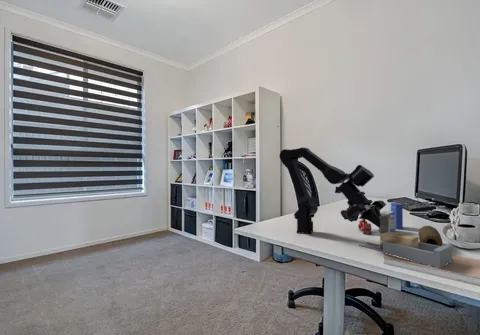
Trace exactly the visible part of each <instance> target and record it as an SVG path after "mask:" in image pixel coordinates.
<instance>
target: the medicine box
mask: <svg viewBox="0 0 480 335" xmlns="http://www.w3.org/2000/svg"><path fill="white" fill-rule="evenodd" d="M380 214H381V216H384V215H390V217H389V218H388V220H389V232H395V231H396V229H395V212H391V211H389V210H385V211H382V212H381V211H380ZM378 232H379V233H380V228H379V227H378Z"/></svg>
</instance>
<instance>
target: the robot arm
mask: <svg viewBox="0 0 480 335" xmlns="http://www.w3.org/2000/svg"><path fill="white" fill-rule="evenodd" d="M278 154H279V159H280V161H281V163H282V164H283V165H284V167H285V168H286V169H287V170H288V174H289V176H290V179H291V182H292V183H293V186H294V190H295V192H296V196H297V198H298V199H297V207H298V210H297V211H295V213H293V216H294V217H293V218H294V219H295V220H296V224H297V225H296V233H297V234H313V232H314V221H312V218H314V217H315V214H317V212H318V210H319V209H318V208H319V207H318V206H319V204H318V203H317V200H316V197H315V196H311V195H310V194H309V192H308V190H307V187H306V184H305V181H304V179H303V177H302V176H303V175H302V173H301V172H300V168H299V165H298V164H299V159H301V158H303V159H304V160H306V161H307V162H308V163H310V165H312V166H314V168H316V169H317V170H318V171H320V173H322V175H323V177H324V178H325V179H326V181H327V182H328V183H330V184H331V185H338V184H340V185H339V186H335V188H334V193H335V194H342V195H343V196H344V197H345V198H346V199H347V202H346V203H347V206H348V207H347V208H346V209H341V211H340V215H341V216H342V218H343V219H344V220H347V221H350V223H352V222H356V221H358V220H360V219H361V220H362V219H366V220H367V222H368V221H369V223H370V224H373V225H374V226H376V227H377V228H378V229H379V228H380V218H379V217H380V216H381V214H380V213H381V210H382V209H383V208H385V206H387V203H385V202H384V200H381V199H380V200H375V201H373V200H372V199H368V198H367V197H366V195H365V194H366V192H365V191H361V190H360V189H359V187H362V188H363V187H365V186H366V184H368V183H369V182H370V181H371V180H372V179H373V178H374V177H375V175H374V173H373V172H372V171H370V170H369V169H367V168H366V167H364V166H363V165H362V164H358V165H356V166H355V169H353V170H352V171H351V172H350V173H347V172H345V171H344V170H342V169H340V168H338V167H336V166H333V165H331V164H329V163H328V162H327V161H325V160H324V159H322V158H321V157H319V156H318V155H317V154H316V153H314V152H313V151H311V150H310V149H309V147H299V148H292V149H288V148H287V149H282V150H281V151H280V153H278Z"/></svg>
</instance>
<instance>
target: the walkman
mask: <svg viewBox="0 0 480 335" xmlns="http://www.w3.org/2000/svg"><path fill="white" fill-rule="evenodd" d="M388 205H389V210H388V211H391V212H395V230H403V229H404V228H403V227H404V225H403V223H404V222H403V221H404V220H403V217H404V214H403V204H402V203H399V202H396V201H395V202H394V201H393V202H389V204H388Z"/></svg>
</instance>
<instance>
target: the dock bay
mask: <svg viewBox="0 0 480 335" xmlns="http://www.w3.org/2000/svg"><path fill="white" fill-rule="evenodd" d="M366 243H367V244H369V245H373V246H376V247H379V245H380V244H377V243H373V242H369V241H368V242H366ZM359 246H360V247H362V248H363V247H364V248H367V249H371V250H375V251H379V252H382V254H383V255H386V253H387V254H391V255H396V256H399V257H402V258H406V259H409V260H412V261H415V262H414V263H416V262H419V263H418V264H420V263H423V264H427V265H430V266H429V267H431V266H434V267H438V268H441V267H442V268H444V267H445V266H444V265H446V264H447V263H449V262H450V261H452V262H453V245H452V244H447V243H446V244H442V246H437V245H432V244H427V243H422V242H420V241H419V249H416V248H412V247H408V246H403V245H399V244H395V243H390V242H386V241H383V251H382V250H381V249H380V248H379V249H378V248H375V247H370V246H366V245H364V244H359ZM412 261H411V262H412ZM423 264H422V265H423ZM449 264H450V263H449ZM427 265H426V266H427ZM447 265H448V264H447ZM447 265H446V266H447ZM443 266H444V267H443ZM434 267H433V268H434ZM438 268H437V269H438ZM442 268H441V269H442Z"/></svg>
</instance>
